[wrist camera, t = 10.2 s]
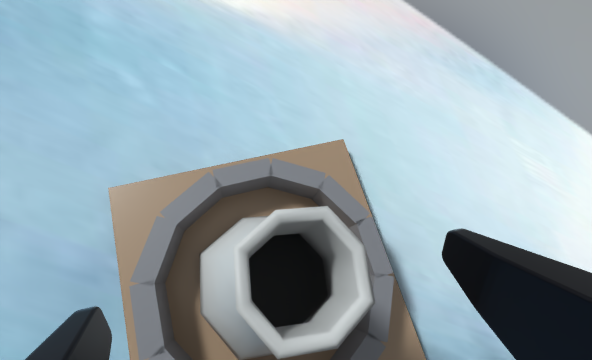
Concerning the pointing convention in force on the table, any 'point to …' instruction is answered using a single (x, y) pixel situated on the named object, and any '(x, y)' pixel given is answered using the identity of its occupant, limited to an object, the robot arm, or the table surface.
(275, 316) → the flask
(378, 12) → the table surface
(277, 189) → the duct collar
